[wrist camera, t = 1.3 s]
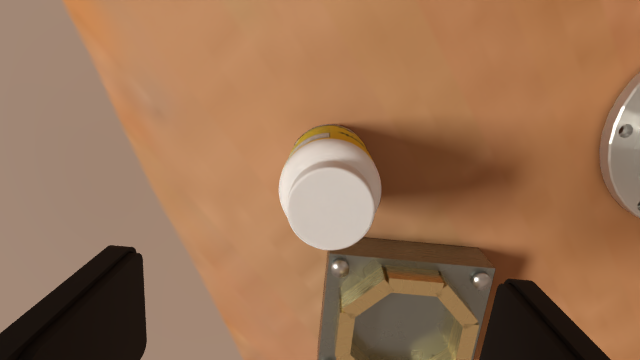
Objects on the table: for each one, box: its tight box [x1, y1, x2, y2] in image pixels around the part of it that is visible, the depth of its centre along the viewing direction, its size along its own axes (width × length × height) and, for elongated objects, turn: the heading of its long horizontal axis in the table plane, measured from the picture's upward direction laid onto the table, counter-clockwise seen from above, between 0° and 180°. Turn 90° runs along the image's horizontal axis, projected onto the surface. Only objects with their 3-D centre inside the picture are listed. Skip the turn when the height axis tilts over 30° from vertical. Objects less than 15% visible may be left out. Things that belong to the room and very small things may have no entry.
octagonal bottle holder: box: [317, 238, 495, 360], centre depth 27 cm, size 11×10×5 cm
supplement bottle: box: [279, 124, 381, 250], centre depth 21 cm, size 5×5×10 cm
